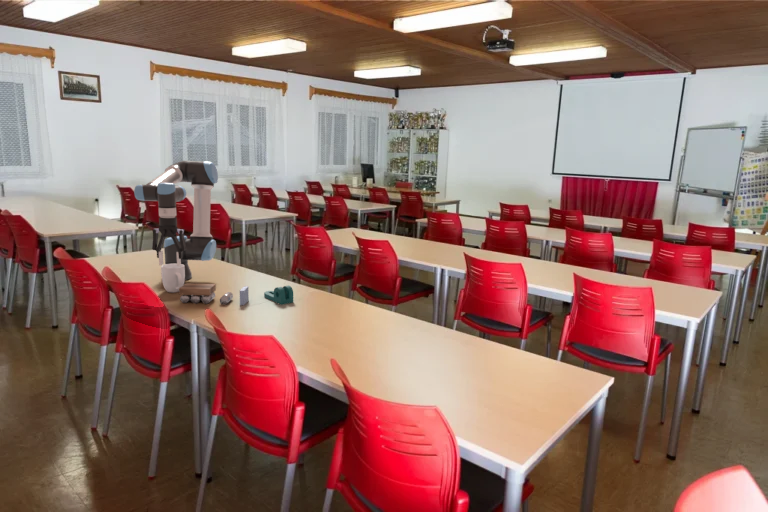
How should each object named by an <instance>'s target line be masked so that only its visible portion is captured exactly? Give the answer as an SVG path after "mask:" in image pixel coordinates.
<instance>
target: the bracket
mask: <svg viewBox="0 0 768 512" xmlns="http://www.w3.org/2000/svg"><path fill="white" fill-rule="evenodd" d="M263 295H264V298H265V299H266V300H269V301H271V300H272V302H274V303H276V304H278V303H279V305H280V304H281V305H280V306H283V305H286V304H288V305H289V304H292V303H294V289H293V288H292V286H291V285H289V284H288V285H284V286H278V287H275V288H274V289H273V290H266V291H264V292H263Z"/></svg>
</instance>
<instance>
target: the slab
mask: <svg viewBox="0 0 768 512" xmlns="http://www.w3.org/2000/svg"><path fill="white" fill-rule="evenodd" d="M215 291H216V284H213V283H212V284H211V283H184V285H183V286H182V287H180V288H179V292H178V294H179V295H181V296H182V295H211V294H212V293H213V292H214V293H215Z"/></svg>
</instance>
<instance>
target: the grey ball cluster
mask: <svg viewBox="0 0 768 512" xmlns="http://www.w3.org/2000/svg"><path fill="white" fill-rule="evenodd" d="M215 297H216V293H215V291H214V292H213V293H212V294H211V295H181V296H180V298H179V301H180V302H181V303H182V304H186V303H189V301H190V302H191V304H192V303H193V304H198V303H200V302H202V303H203V304H204V305H207V304H209V303H210V302H212V301H213V300H214V299H215Z"/></svg>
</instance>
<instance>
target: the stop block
mask: <svg viewBox="0 0 768 512" xmlns="http://www.w3.org/2000/svg"><path fill="white" fill-rule="evenodd" d="M248 302H249V286H248V285H247V286H246V285H245V286H243V287H241V289H240V290H239V306H245V305H246V304H247V303H248Z"/></svg>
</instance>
